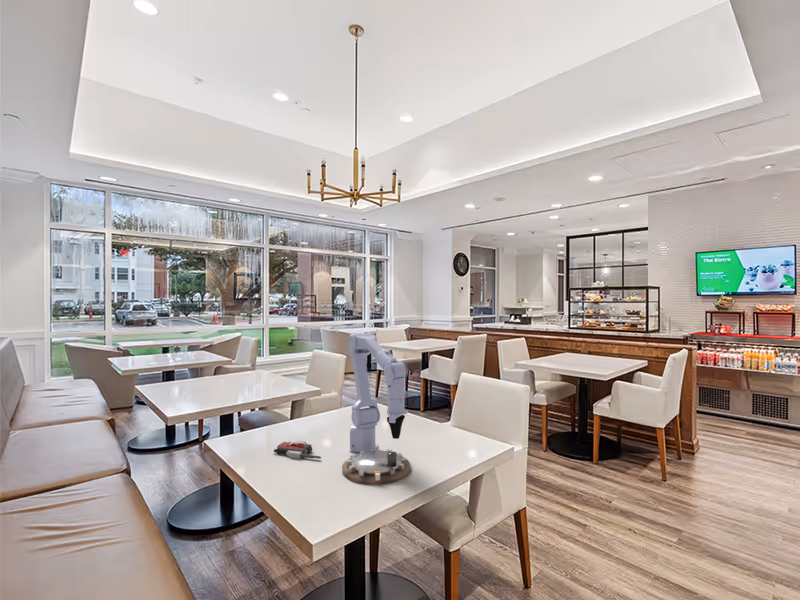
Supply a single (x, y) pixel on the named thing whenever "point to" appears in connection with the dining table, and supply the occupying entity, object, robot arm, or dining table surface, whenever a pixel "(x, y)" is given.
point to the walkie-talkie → (295, 449)
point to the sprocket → (376, 462)
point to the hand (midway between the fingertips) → (396, 437)
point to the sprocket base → (376, 475)
